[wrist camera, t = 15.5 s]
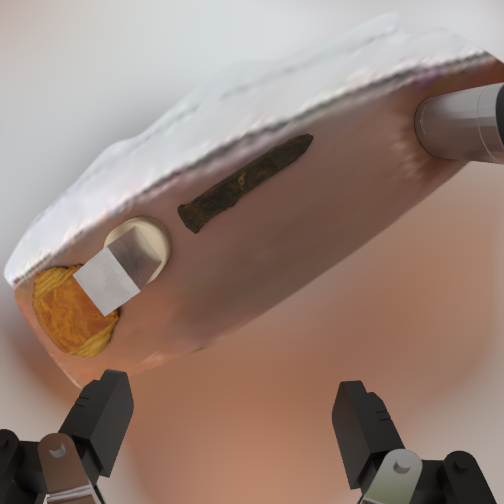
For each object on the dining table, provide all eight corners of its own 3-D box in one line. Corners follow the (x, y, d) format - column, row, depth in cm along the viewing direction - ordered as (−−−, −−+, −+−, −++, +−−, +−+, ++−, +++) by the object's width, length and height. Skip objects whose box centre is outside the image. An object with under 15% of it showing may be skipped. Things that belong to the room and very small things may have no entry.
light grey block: (136, 225, 36) (106, 246, 27) (162, 261, 37) (140, 291, 29) (106, 249, 37) (72, 275, 28) (131, 283, 38) (104, 316, 30)
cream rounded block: (169, 214, 41) (153, 228, 33) (174, 271, 43) (160, 296, 35) (115, 217, 41) (89, 230, 33) (121, 271, 43) (99, 294, 35)
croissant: (80, 345, 49) (64, 375, 42) (30, 274, 43) (6, 300, 36) (141, 325, 48) (129, 360, 40) (89, 243, 41) (65, 269, 34)
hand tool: (196, 230, 42) (190, 239, 37) (179, 205, 41) (172, 211, 36) (319, 155, 39) (329, 156, 35) (304, 129, 38) (312, 126, 34)
